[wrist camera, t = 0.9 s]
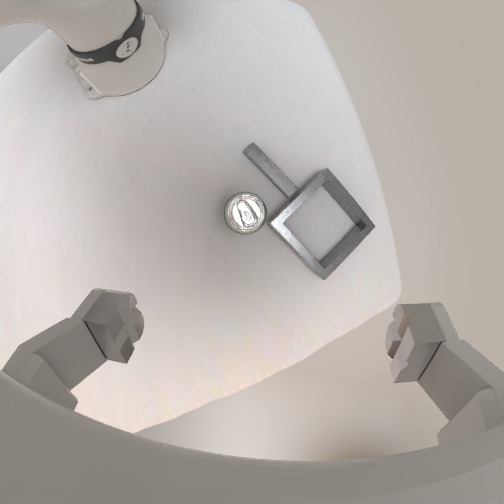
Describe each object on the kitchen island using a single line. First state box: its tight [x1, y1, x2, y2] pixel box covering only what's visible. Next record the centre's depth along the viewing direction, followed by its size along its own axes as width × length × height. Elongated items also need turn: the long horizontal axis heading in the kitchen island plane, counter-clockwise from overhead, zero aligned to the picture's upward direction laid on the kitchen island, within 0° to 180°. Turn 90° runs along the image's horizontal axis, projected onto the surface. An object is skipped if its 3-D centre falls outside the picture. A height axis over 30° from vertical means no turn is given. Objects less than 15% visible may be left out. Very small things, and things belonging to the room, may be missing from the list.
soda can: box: [224, 192, 267, 234], centre depth 39 cm, size 5×5×12 cm
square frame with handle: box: [243, 143, 375, 280], centre depth 43 cm, size 23×12×4 cm, turn 44°
